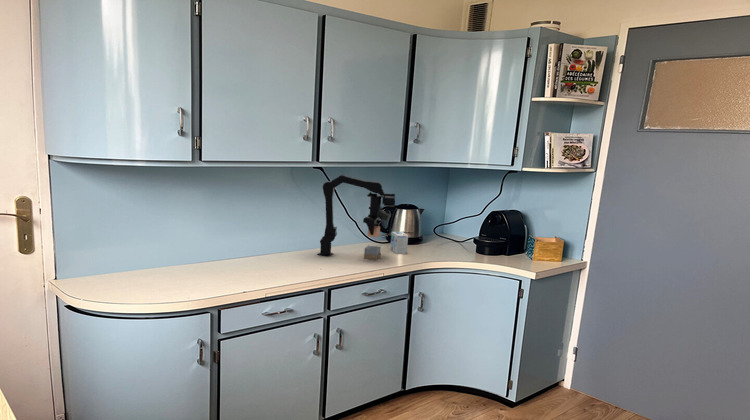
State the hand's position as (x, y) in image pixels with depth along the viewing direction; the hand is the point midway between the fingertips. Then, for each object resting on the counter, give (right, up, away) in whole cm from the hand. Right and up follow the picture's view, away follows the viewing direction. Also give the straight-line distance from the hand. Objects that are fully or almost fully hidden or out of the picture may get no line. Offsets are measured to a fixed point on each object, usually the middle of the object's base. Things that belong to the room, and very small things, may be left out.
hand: (373, 234), depth 266 cm
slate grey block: (-1, -10, +2) cm, 10 cm away
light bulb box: (+14, -11, +20) cm, 27 cm away
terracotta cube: (0, -1, 0) cm, 1 cm away
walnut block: (-1, -13, +2) cm, 13 cm away
